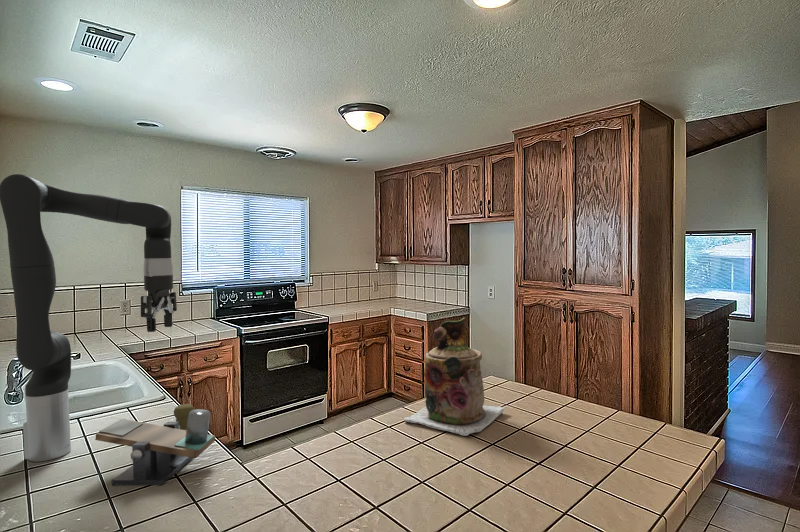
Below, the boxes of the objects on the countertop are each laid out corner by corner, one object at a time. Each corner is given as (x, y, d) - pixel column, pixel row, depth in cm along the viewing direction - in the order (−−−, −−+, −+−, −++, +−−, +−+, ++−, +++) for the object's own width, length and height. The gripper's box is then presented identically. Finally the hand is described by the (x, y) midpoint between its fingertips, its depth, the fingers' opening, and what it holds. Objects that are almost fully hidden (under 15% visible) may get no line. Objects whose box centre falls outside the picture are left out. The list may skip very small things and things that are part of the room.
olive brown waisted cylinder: (187, 448, 127) (186, 409, 126) (168, 447, 128) (166, 408, 128) (201, 440, 133) (200, 402, 132) (182, 438, 134) (181, 401, 133)
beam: (95, 439, 111) (96, 432, 110) (122, 424, 121) (123, 417, 120) (195, 458, 109) (196, 451, 109) (214, 441, 119) (215, 434, 119)
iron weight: (181, 442, 112) (185, 414, 112) (191, 434, 117) (195, 407, 117) (200, 446, 112) (204, 418, 112) (210, 438, 117) (214, 411, 117)
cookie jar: (441, 401, 162) (439, 311, 161) (507, 413, 148) (505, 315, 147) (400, 423, 142) (398, 320, 141) (473, 440, 128) (470, 325, 127)
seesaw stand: (111, 485, 107) (110, 447, 107) (155, 453, 124) (153, 420, 124) (161, 485, 106) (160, 447, 106) (198, 453, 124) (197, 420, 123)
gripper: (160, 273, 141) (161, 325, 142) (130, 275, 127) (132, 333, 128) (183, 272, 141) (185, 325, 141) (156, 274, 127) (158, 333, 127)
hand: (160, 329), depth 135 cm, fingers open, 8 cm apart
